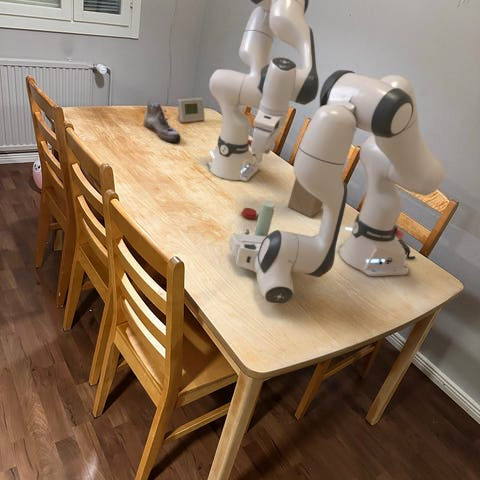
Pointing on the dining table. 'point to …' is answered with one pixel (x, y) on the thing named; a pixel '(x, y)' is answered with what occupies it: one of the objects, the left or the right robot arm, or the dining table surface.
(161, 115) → the shoe
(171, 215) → the dining table surface
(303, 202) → the wooden block
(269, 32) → the left robot arm
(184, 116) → the digital clock
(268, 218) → the green cylinder
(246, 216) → the lid
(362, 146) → the right robot arm
